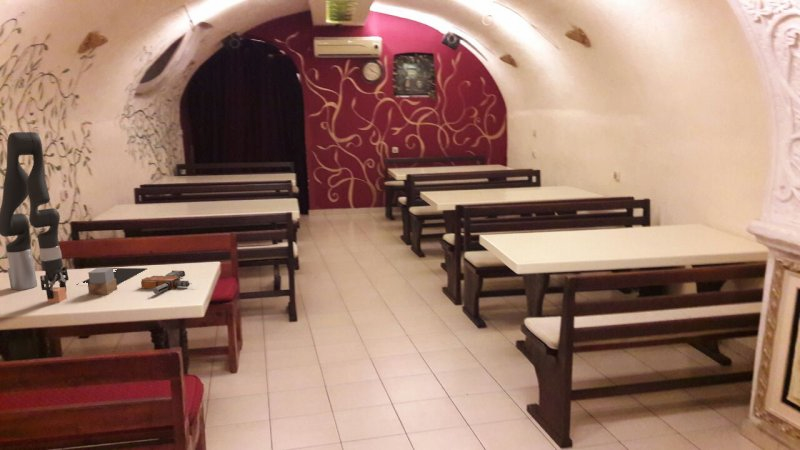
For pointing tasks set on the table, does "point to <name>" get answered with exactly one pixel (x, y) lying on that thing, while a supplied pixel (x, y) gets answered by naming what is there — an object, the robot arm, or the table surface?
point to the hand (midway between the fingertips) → (57, 295)
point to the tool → (164, 282)
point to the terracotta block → (58, 295)
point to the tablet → (123, 274)
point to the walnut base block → (102, 288)
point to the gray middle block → (101, 275)
